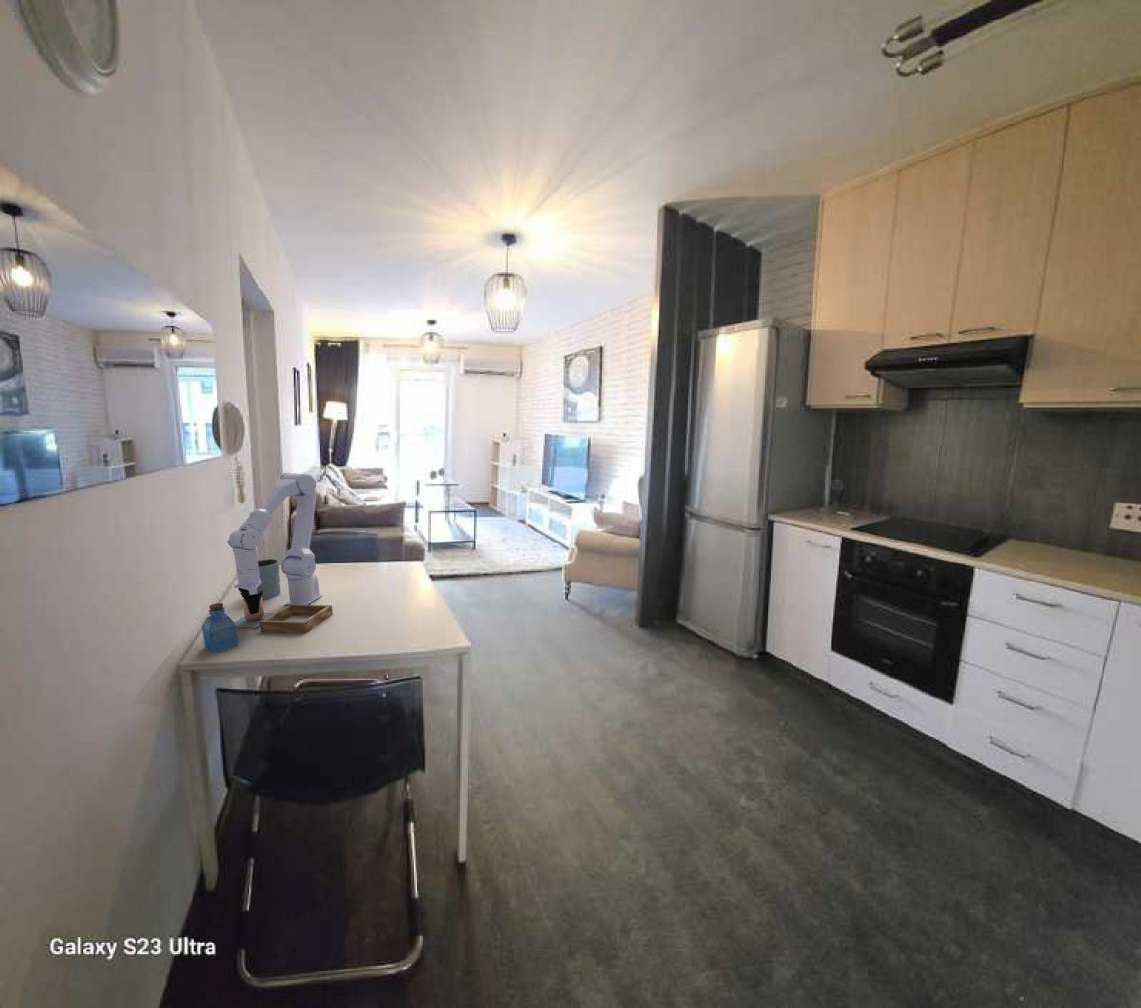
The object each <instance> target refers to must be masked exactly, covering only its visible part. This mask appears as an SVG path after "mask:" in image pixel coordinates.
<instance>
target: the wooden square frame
mask: <svg viewBox="0 0 1141 1008" xmlns="http://www.w3.org/2000/svg"><path fill="white" fill-rule="evenodd" d="M273 613H274V614H273V615H271V616H269V617H267V618H266V619H264V620H262V621H260V627H259V628H260V632H264V633H265V632H267V633H268V632H272V633H299V634H300V633H301V634H302V633H303V634H306V633H307V632H309V631H310V630H313V629H314V628H315V627H316V626H318V625H320V624H321V623H322V622H324V621H325V620H326V619H328V618H329V617H331V616H332V615H333V614H334V612H333V605H332V604H331V605H329V604H308V605H301V604H290V605H286V606H285V607H284V608H282V609H280V610H278V611H277V612H273ZM292 615H297V616H298V615H301V616H302V615H304V616H310V617H309V618H307V619H306V620H303V621H296V620H295V621H294V620H293V621H292V620H287V621H286V620H285V619H288V617H290V616H292Z"/></svg>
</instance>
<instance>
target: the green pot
mask: <svg viewBox="0 0 1141 1008" xmlns="http://www.w3.org/2000/svg"><path fill="white" fill-rule="evenodd" d="M258 565H259V573H260V580H261V584H260V586H259V589H258V591H259V590H263V594H262V600H267V599H271V598H272V599H273V598H274V597H278V596H279V595H280V594H281V584H280V582H281V581H280V580H281V579H280V577H281V576H280V561H279V560H278V559H275V558H266V559H265V558H264V559H258Z"/></svg>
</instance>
